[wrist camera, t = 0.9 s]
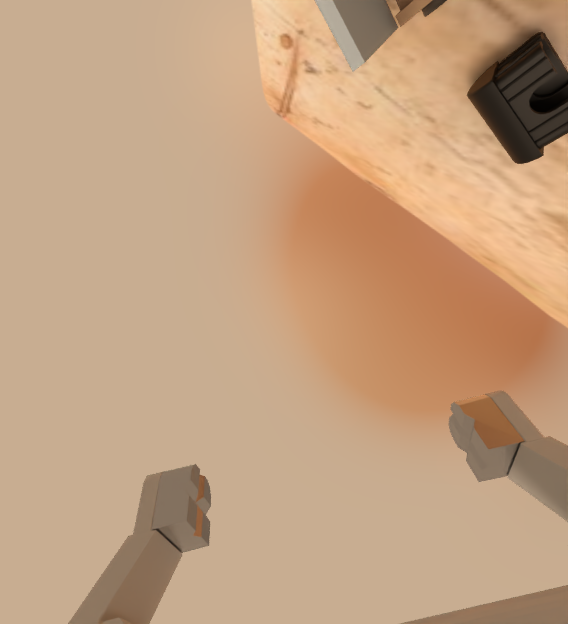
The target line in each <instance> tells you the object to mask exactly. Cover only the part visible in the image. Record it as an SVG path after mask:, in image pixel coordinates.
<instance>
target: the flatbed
mask: <svg viewBox="0 0 568 624" xmlns="http://www.w3.org/2000/svg"><path fill="white" fill-rule="evenodd" d="M396 1H397V4H398V6H399V8H400V10H401V11H400V12H399V13H398V14H397V15H396V18H397V20H398V23H399V25H400V27H401V26H402V25H403V24H404V23H406V22H407V21H408V20H409V19H411V18H412V17H413V16H414V15H415V14H417V13H418V12H419V11H420V10H421V9H422V12H423V14H424V16H425V17H426V16H427V15H429V14H430V13H431V12H433V11H434V10H435V9H437V8H438V7H439V6H440V5H442V4H443V3H444V2H445V1H447V0H396Z"/></svg>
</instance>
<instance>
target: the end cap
mask: <svg viewBox="0 0 568 624" xmlns="http://www.w3.org/2000/svg"><path fill="white" fill-rule="evenodd" d="M467 96H468V98H469V99H470V101H471V102H472V103H473V105H474V106H475V108H476V109H477V110H478V112H479V113H480V115H481V116H482V118H483V119H484V120H485V122H486V123H487V125H488V126H489V127H490V129H491V130H492V132H493V133H494V134H495V136H496V137H497V139H498V140H499V141H500V143H501V144H502V146H503V147H504V149H505V150H506V151H507V153H508V154H509V156H510V157H511V158H512V160H513V161H514V162H515V163H517V164H524V163H528V162H531V161H533V160H535V159H538V158H540V157H542V156H543V153H544V146H546V145H548V144H550V143H551V142H553V141H555V140H556V139H558V138H560V137H562V136H563V135H565V134H567V133H568V72H567V70H566V69H565V67H564V65H563V64H562V62H561V60H560V59H559V57H558V55H557V54H556V52H555V50H554V49H553V47H552V45H551V44H550V42H549V40H548V39H547V37H546V35H545V34H544V33H543V32H539V33H537V34H535V35H534V36H533V37H531V38H530V39H529V40H528V41H526V42H525V43H524V44H523V45H522V46H520V47H519V48H518V49H517V50H515V51H514V52H513V53H512V54H511V55H509V56H508V57H507V58H506V59H504V60H503V61H502V62H501V63H500V64H499V62H496V63H495V64H494V65H493V66H491V67H490V68H489V69H488V70H487V71H486V72H485V73H484V74H483V75H482V76H481V77H480V78H479V79H478V80H477V81H476V82H475V83H474V84H473V85H472V87H471V88H470V89H469V91H468V94H467Z"/></svg>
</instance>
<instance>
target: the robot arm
mask: <svg viewBox="0 0 568 624" xmlns="http://www.w3.org/2000/svg"><path fill="white" fill-rule="evenodd" d="M451 411H452V412H453V415H452V416H451V417H450V418H449V428H450V432H451V435H452V437H453V439H454V441H455V443H456V444H457V446H458V447H459V448H460V449H462V450H463V451H465V452H467V459H466V461H467V463H468V464H469V466H470V468H471V469H472V471H473V473H474V475H475V476H476V478H477V480H478V481H479V482H481V481H486V480H491V479H495V478H500V477H505V476H508V478H509V479H510V480H511V481H513V482H514V483H515V484H517V485H518V486H519V487H521V488H522V489H524V490H525V491H526V492H528V493H529V494H530V495H532V496H533V497H535V498H536V499H537V500H539V501H540V502H541V503H543V504H544V505H545V506H547V507H548V508H550V509H551V510H552V511H554V512H555V513H556V514H558V515H559V516H560V517H562V518H563V519H564V520H566V521H567V522H568V446H567V445H566V444H564V443H562V442H560V441H558V440H556V439H554V438H552V437H550V436H548V437H543V435H542V434H541V433H540V431H539V430H538V429H537V428H536V427H535V426H534V424H533V423H532V422H531V421H530V420H529V418H528V417H527V416H526V415H525V414H524V413H523V411H522V410H521V409H520V408H519V407H518V405H517V404H516V403H515V402H514V401H513V400H512V399H511V397H510V396H509V395H508V394H507V393H506V392H504V391H497V392H493V393H488V394H483V395H480V396H475V397H472V398H468V399H464V400H460V401H456V402H453V403H452V404H451ZM210 506H211V494H210V486H209V483H208V481H207V479H206V477H205V476H202V475H200V469H199V468H198V467H197V465H196V464H195V465H190V466H186V467H182V468H178V469H174V470H170V471H165V472H160V473H156V474H152V475H148V476H147V477H146V479H145V481H144V483H143V489H142V493H141V498H140V503H139V508H138V513H137V518H136V523H135V528H134V533H133V535H131V536H128V537H127V539H126V540H125V542H124V543H123V545H122V546H121V548H120V549H119V551H118V552H117V553H116V555H115V556H114V558H113V559H112V561H111V562H110V564H109V565H108V566H107V568H106V569H105V571H104V572H103V574H102V575H101V577H100V578H99V580H98V581H97V583H96V584H95V585H94V587H93V588H92V590H91V591H90V593H89V594H88V596H87V597H86V599H85V600H84V601H83V603H82V604H81V606H80V607H79V609H78V610H77V612H76V613H75V615H74V616H73V617H72V619H71V620H70V622H69V623H68V624H149V623H150V621H151V619H152V617H153V615H154V613H155V611H156V608H157V606H158V604H159V602H160V600H161V598H162V596H163V594H164V592H165V590H166V588H167V586H168V584H169V582H170V580H171V577H172V575H173V573H174V571H175V569H176V567H177V565H178V563H179V561H180V559H181V557H182V553H183V552H187V551H190V550H194V549H198V548H201V547H205V546H209V535H210V521H209V519H208V518H207V516H206V513H207V511H208V510H209V508H210ZM401 624H568V585H566V586H562V587H557V588H553V589H549V590H545V591H540V592H536V593H532V594H527V595H523V596H519V597H514V598H510V599H505V600H501V601H496V602H492V603H488V604H483V605H479V606H475V607H471V608H466V609H462V610H457V611H453V612H449V613H444V614H440V615H435V616H431V617H427V618H423V619H418V620H414V621H410V622H405V623H401Z"/></svg>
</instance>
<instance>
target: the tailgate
mask: <svg viewBox="0 0 568 624" xmlns="http://www.w3.org/2000/svg"><path fill="white" fill-rule="evenodd" d="M315 2H316V4H317V6H318V8H319V9H320V11H321V13H322V15H323V17H324V19H325V21H326V23H327V24H328V26H329V28H330V30H331V32H332V34H333V36H334V37H335V39H336V41H337V43H338V45H339V47H340V49H341V50H342V52H343V54H344V56H345V58H346V60H347V62H348V64H349V65H350V67H351V69H352V71H353V72H354V71H355V70H356V69H357V68H359V67H360V66H361V65H362V64H363V63H365V62H366V61H367V60H368V59H369V58H370V56H371V55H372V54H373V53H374V52H375V51H376V50H377V49H378V48H379V47H380V46H381V45H382V44H383V43H384V42H385V41H386V40H387V39H388V38H389V37H390V36H391V35H392V33H393V32H394V31H395V30H396V29H397V28H398V26H397V24H396V22H395V20H394V18H393V15H392V13H391V11H390V9H389V7H388V4H387V2H386V0H315Z"/></svg>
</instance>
